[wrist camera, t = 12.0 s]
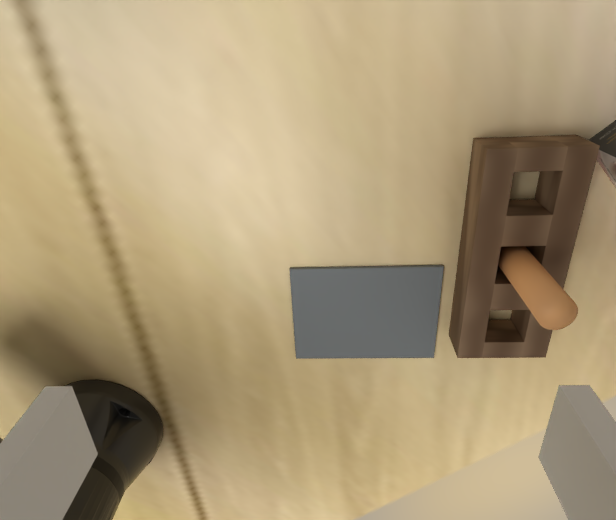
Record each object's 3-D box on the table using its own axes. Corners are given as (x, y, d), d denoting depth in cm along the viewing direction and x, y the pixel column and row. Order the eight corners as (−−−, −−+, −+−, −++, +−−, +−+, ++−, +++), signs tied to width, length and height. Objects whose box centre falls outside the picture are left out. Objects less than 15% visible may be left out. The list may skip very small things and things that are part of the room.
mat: (296, 356, 53) (296, 358, 53) (290, 267, 48) (289, 269, 47) (433, 355, 52) (433, 357, 52) (442, 264, 47) (443, 266, 46)
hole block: (448, 334, 51) (457, 357, 47) (473, 138, 41) (487, 149, 37) (530, 333, 50) (545, 357, 47) (576, 134, 40) (600, 145, 36)
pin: (487, 260, 46) (533, 330, 36) (491, 233, 45) (541, 297, 34) (517, 259, 46) (572, 329, 35) (522, 233, 45) (581, 297, 34)
